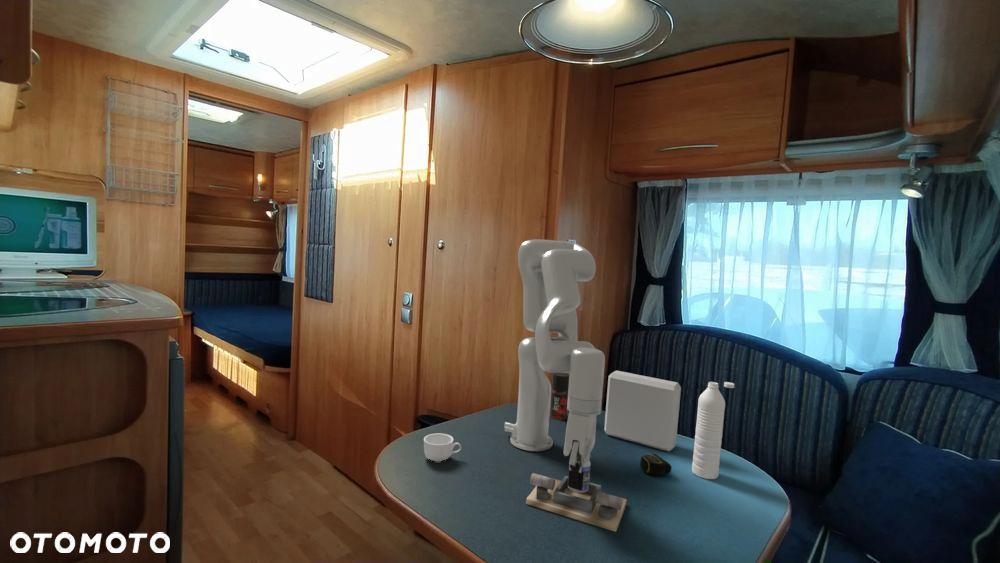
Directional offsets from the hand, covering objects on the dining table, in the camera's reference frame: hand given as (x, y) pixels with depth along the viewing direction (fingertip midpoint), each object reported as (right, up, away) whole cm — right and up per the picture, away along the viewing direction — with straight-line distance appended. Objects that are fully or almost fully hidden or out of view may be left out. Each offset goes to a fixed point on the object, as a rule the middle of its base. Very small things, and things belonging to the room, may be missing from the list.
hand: (578, 481), depth 103 cm
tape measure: (+24, -6, +19) cm, 31 cm away
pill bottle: (0, -2, 0) cm, 2 cm away
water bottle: (+38, -7, +19) cm, 43 cm away
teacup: (-33, -2, +19) cm, 38 cm away
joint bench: (0, -5, 0) cm, 5 cm away
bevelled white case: (+26, -4, +40) cm, 47 cm away
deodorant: (+3, -2, +56) cm, 56 cm away
